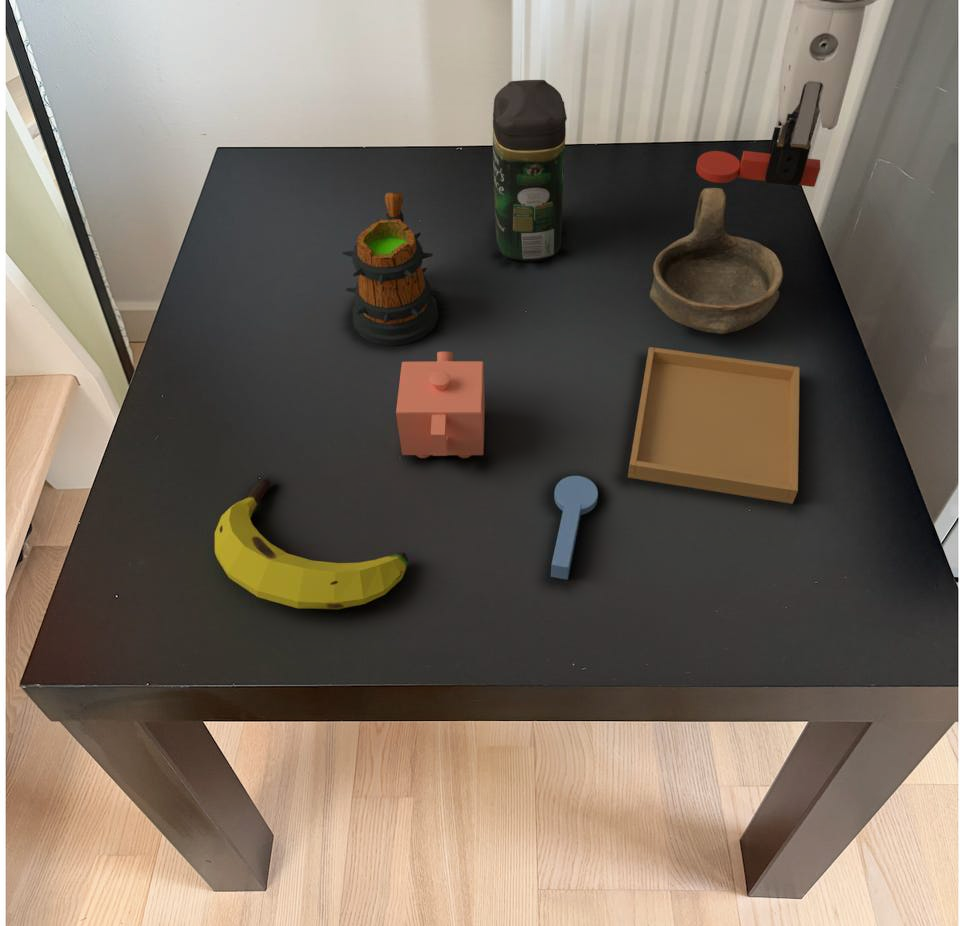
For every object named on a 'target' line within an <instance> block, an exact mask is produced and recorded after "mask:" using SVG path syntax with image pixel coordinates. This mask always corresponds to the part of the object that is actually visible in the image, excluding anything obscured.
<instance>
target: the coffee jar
mask: <svg viewBox="0 0 960 926" xmlns="http://www.w3.org/2000/svg"><path fill="white" fill-rule="evenodd" d="M495 94H496V95H495V96H494V98H493V109H492V110H493V111H492V167H493V168H492V169H493V170H492V171H493V190H494V191H493V192H494V193H493V194H494V218H495V219H494V221H495V235H496V236H495V237H496V239H495V240H496V243H497V246H498V250H499V251H500V253H501V254H502V255H503V256H504V257H506V258H508V259H511V260H515V261H519V262H537V261H542V260H546V259H549V258H551V257H553V256H555V255H556V254H557V253H558V252H559V251H560V248H561V245H562V230H563V229H562V228H563V225H562V224H563V198H564V197H563V196H564V174H565V173H564V171H565V152H566V151H565V149H566V135H567V127H566V122H567V119H568V116H567V112H566V107H565V106H566V105H565V101H564V99H563V96H562V94H561V92H560V91H558V89H556V88H555V87H554V86H553V85H551V84H550V83H548V82H547V81H546V80H545V79H522V80H511V81H509V82H508V83H507V84H506V85H505V86H503V87H502V88H500V90H499V91H498V92H496V93H495Z"/></svg>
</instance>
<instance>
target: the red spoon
mask: <svg viewBox="0 0 960 926" xmlns="http://www.w3.org/2000/svg"><path fill="white" fill-rule="evenodd" d="M770 155H771V154H768V153H766V152H757V151H749V150H743V152H742V155H741V159H740V160H739V159H738V158H737V157H736V156H735V155H733V154H731V153H729V152H726V151H721V150H720V151H719V150H711V151H707V152H704V153H702V154H701V155H699V157H698V158H697V162H696V165H695V170H696V174H697V175H698V176H699V177H700V178H702V179H703V180H706V181H707V182H711V183H715V184H725V183H730V182H733V181H734V180H736V179H737V178H739V179H745V180H753V181H755V180H756V181H761V182H766V180H765V175H766V171H767V167H768V163H769V159H770ZM820 170H821V159H819V158H818V159H816V158H810V157H808V159H807V162H806V166H805V169H804V173H803V176H802V180H801V183H800V184H799V185H798V186H804V187H811V188H815V186H816V183H817V181H818V177H819V174H820V172H821V171H820Z"/></svg>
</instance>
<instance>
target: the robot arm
mask: <svg viewBox="0 0 960 926" xmlns="http://www.w3.org/2000/svg"><path fill="white" fill-rule="evenodd" d="M877 1H878V0H794V1H793V6H792V10H791V14H790V18H789V23H788V28H787V32H786V37H785V42H784V46H783V47H784V48H783V51H782V52H783V53H782V57H781V64H780V65H781V66H780V73H779V85H778V103H777V104H778V105H777V107H778V110H777V118H778V120H777V126H774V127H773V129H774V130H773V132H772V133H773V134H772V137H771V141H770V144H769V149H768V153H767V154H771V155H770V159H769V163H768V167H767V171H766V175H765V180H766V181H765V182H766V183H768V184H778V185H786V186H787V185H788V186H800V185H799V184H800V183H801V180H802V176H803V173H804V169H805V166H806V162H807V159H808V158H809V154H810V151H811V148H812V144H811V143H812V139H813V138H814V137H813V136H814V133H815V129H816V127H817V123H818V120H819V116H820V122H821V127H822V128H823V129H827V130H830V131H831V130H833V129H835V127H837V125H838V122H839V118H840V115H841V110H842V106H843V102H844V98H845V95H846V91H847V87H848V84H849V80H850V76H851V72H852V69H853V68H852V67H853V65H854V61H855V56H856V54H857V48H858V46H859V40H860V36H861V32H862V26H863V22H864V17H865V10H866V7H867V6H870V5H872V4H874V3H876V2H877Z"/></svg>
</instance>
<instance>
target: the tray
mask: <svg viewBox="0 0 960 926" xmlns="http://www.w3.org/2000/svg"><path fill="white" fill-rule="evenodd" d="M647 351H648V352H647V355H646V363H645V369H644V375H643V382H642V386H641V394H640V400H639V406H638V412H637V417H636V423H635V429H634V436H633V442H632V447H631V454H630V460H629V466H628V473H627V479H635V480H641V481H646V482H654V483H659V484H667V485H672V486H678V487H685V488H692V489H695V490H696V489H697V490H703V491H709V492H717V493H722V494H728V495H735V496H742V497H746V498H747V497H748V498H753V499H759V500H765V501H772V502H777V503H778V502H779V503H784V504H790V505H793V504H794V502H795V499H796V497H797V494H798V491H799V447H800V445H799V443H800V442H799V437H800V434H799V433H800V372H801V371H800V370H801V369H800V366H793V365H787V364H778V363H771V362H764V361H757V360H749V359H742V358H734V357H726V356H720V355H712V354H706V353H705V354H704V353H698V352H689V351H682V350H677V349H676V350H675V349H668V348H659V347H652V346H649V347H648V350H647Z"/></svg>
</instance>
